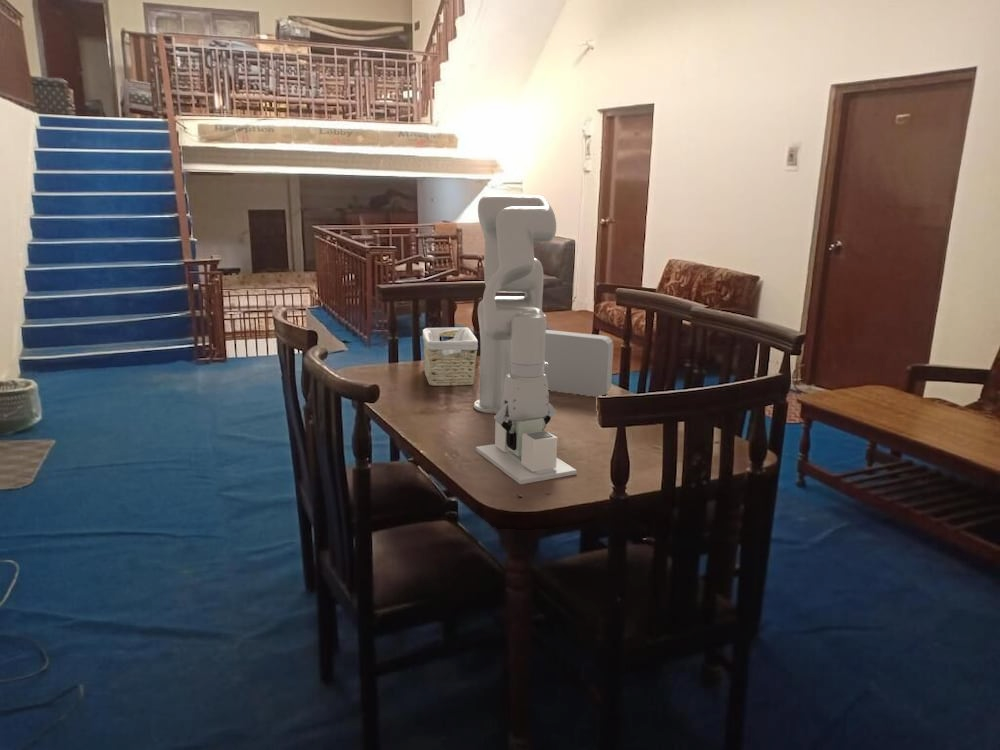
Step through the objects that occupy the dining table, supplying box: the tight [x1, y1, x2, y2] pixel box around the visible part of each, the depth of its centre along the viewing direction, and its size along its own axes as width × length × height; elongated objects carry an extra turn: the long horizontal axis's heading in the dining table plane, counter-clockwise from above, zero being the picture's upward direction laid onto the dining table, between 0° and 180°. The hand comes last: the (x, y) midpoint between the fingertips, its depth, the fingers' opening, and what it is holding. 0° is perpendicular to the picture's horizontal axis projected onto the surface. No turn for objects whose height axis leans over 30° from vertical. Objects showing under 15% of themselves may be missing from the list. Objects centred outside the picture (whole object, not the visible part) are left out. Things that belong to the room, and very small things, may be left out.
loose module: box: [508, 418, 543, 456], centre depth 166 cm, size 5×6×8 cm
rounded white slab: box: [544, 329, 615, 398], centre depth 226 cm, size 29×8×18 cm, turn 67°
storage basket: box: [422, 326, 479, 387], centre depth 237 cm, size 24×16×15 cm
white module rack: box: [475, 416, 577, 485], centre depth 166 cm, size 22×14×9 cm, turn 27°
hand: (524, 445), depth 167 cm, fingers closed on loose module, 6 cm apart
